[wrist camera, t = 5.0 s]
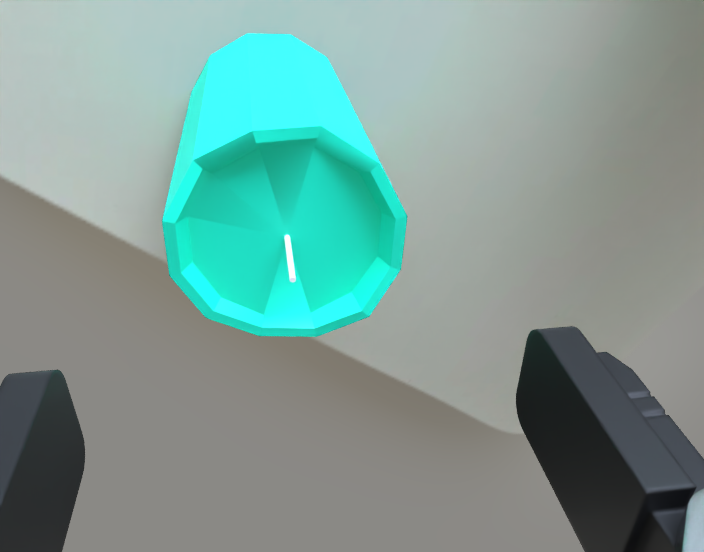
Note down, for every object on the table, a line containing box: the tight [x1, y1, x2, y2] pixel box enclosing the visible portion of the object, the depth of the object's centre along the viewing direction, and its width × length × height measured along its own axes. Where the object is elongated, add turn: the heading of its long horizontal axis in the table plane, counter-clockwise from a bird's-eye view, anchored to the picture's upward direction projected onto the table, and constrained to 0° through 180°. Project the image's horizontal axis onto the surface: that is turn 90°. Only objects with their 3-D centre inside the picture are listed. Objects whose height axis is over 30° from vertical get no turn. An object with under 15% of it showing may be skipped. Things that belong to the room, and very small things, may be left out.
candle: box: [162, 34, 407, 337], centre depth 19 cm, size 6×6×12 cm
